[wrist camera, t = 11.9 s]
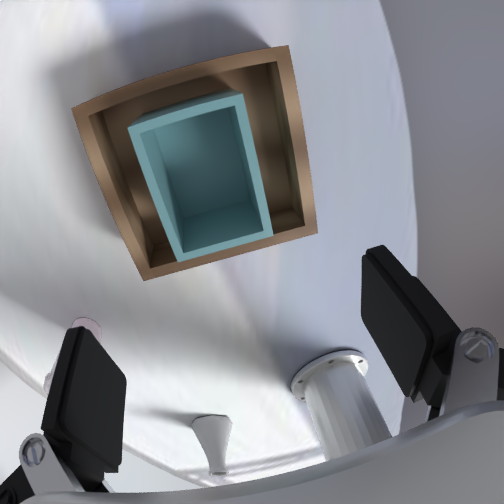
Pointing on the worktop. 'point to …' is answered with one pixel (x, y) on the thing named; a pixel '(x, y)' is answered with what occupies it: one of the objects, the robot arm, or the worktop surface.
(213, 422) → the flask
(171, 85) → the big crate
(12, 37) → the worktop surface
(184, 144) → the small crate
